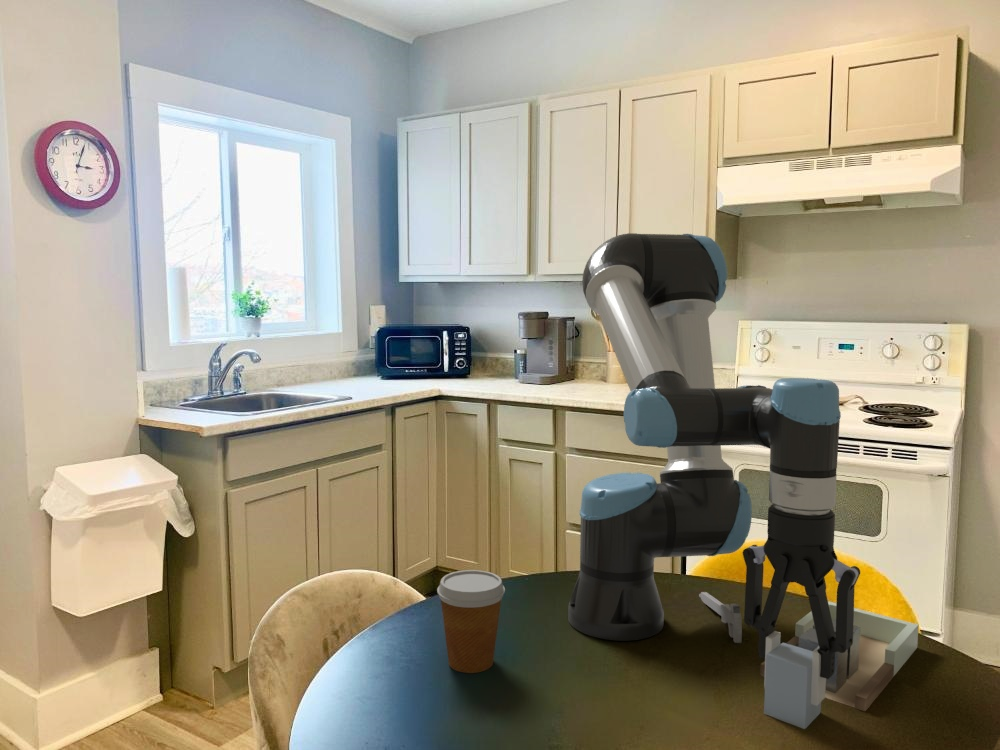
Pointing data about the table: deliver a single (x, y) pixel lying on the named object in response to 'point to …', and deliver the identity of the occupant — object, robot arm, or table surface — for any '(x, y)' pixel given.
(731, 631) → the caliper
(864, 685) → the slot board
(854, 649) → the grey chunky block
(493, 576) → the disposable coffee cup
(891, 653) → the tray
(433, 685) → the table surface
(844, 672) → the grey squarish block
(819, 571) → the robot arm
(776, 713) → the grey block
